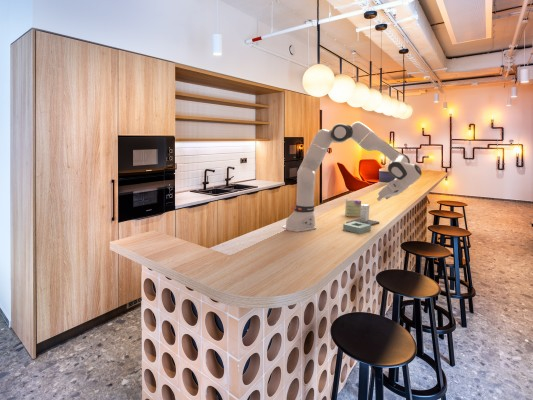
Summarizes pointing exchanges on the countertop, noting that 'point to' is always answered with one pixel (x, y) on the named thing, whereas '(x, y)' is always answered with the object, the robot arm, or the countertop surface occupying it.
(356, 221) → the mat
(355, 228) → the block
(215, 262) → the countertop surface
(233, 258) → the countertop surface
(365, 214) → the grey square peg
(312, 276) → the countertop surface
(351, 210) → the box
